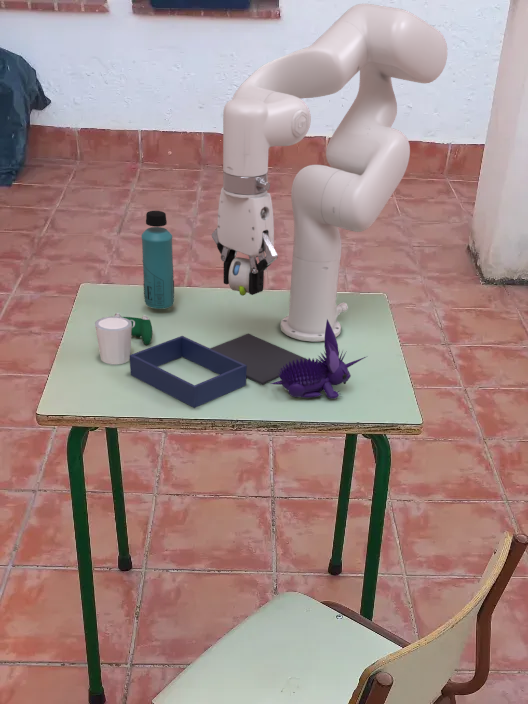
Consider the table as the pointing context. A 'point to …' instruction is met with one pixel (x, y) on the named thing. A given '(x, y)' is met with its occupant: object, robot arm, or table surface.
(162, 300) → the beverage bottle
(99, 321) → the white cup
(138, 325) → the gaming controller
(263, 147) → the robot arm
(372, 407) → the table surface
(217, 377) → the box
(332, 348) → the creature
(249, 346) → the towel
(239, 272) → the roller toy
